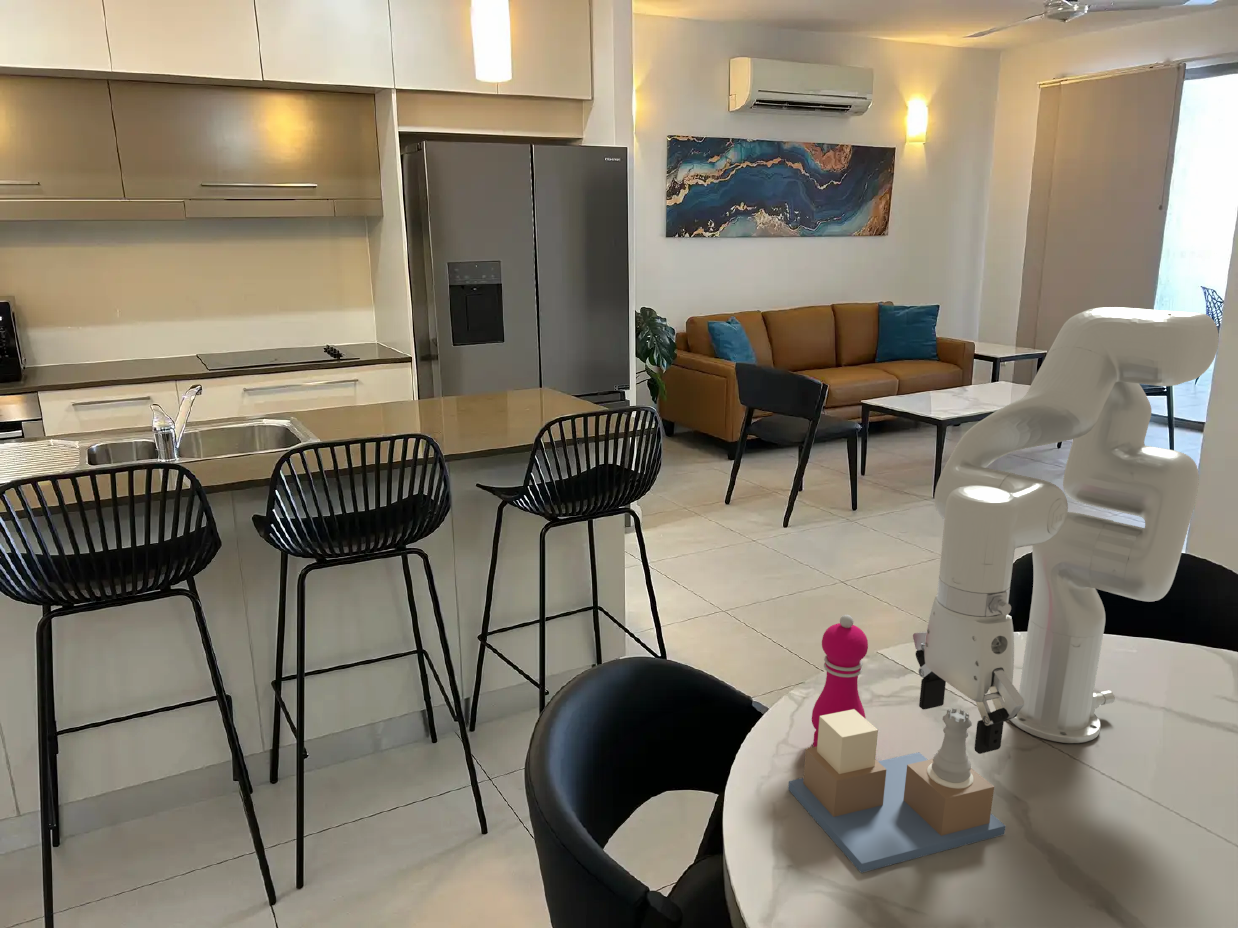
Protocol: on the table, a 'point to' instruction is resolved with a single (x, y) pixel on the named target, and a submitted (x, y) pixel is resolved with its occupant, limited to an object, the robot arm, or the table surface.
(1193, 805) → the table surface
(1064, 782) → the table surface
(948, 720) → the rook chess piece
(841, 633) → the pepper mill
